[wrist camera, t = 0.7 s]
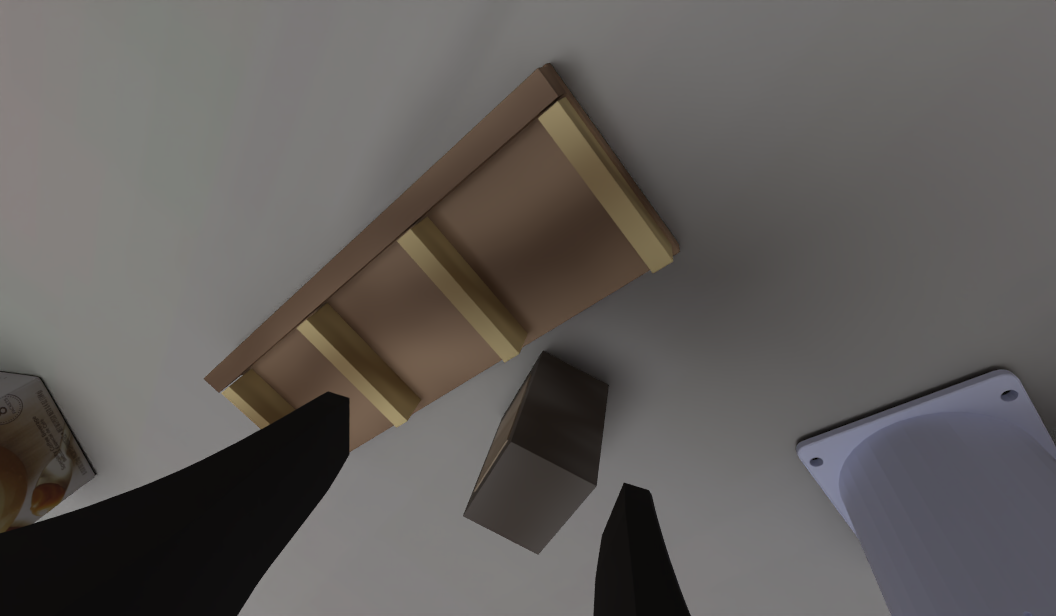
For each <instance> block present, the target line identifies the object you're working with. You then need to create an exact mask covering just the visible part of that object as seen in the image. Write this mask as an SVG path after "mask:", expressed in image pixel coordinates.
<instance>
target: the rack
mask: <svg viewBox="0 0 1056 616" xmlns="http://www.w3.org/2000/svg"><path fill="white" fill-rule="evenodd" d="M679 252H680V248H679V244H678V242H677V241H676V239H675V238H674V237H673V235H672V234H671V232H670V231H669V230H668V228H667V227H666V225H665V224H664V223H663V221H662V220H661V218H660V217H659V216H658V214H657V213H656V211H655V210H654V209H653V207H652V206H651V204H650V203H649V202H648V200H647V199H646V197H645V196H644V195H643V193H642V192H641V190H640V189H639V187H638V186H637V185H636V183H635V182H634V180H633V179H632V178H631V176H630V175H629V173H628V172H627V171H626V169H625V168H624V166H623V165H622V164H621V162H620V161H619V159H618V158H617V157H616V155H615V154H614V152H613V151H612V150H611V148H610V147H609V145H608V144H607V143H606V141H605V140H604V138H603V137H602V136H601V134H600V133H599V131H598V130H597V128H596V127H595V126H594V124H593V123H592V121H591V120H590V119H589V117H588V116H587V114H586V113H585V112H584V110H583V109H582V107H581V106H580V105H579V103H578V102H577V100H576V99H575V98H574V96H573V95H572V93H571V92H570V91H569V89H568V88H567V86H566V85H565V84H564V82H563V81H562V79H561V78H560V77H559V75H558V74H557V72H556V71H555V69H554V68H553V67H552V65H551V64H550V63H547V64H545V65H544V66H543V67H541V68H537V69H536V70H535V71H534V72H533V73H532V74H531V75H530V76H529V77H528V78H527V79H526V80H525V81H523V82H522V83H521V84H520V85H519V86H518V87H517V88H516V89H515V90H514V91H513V92H512V93H511V94H509V95H508V96H507V97H506V98H505V99H504V100H503V101H502V102H501V103H500V104H499V105H498V106H497V107H495V108H494V109H493V110H492V111H491V112H490V113H489V114H488V115H487V116H486V117H485V118H484V119H483V120H481V121H480V122H479V123H478V124H477V125H476V126H475V127H474V128H473V129H472V130H471V131H470V132H469V133H467V134H466V135H465V136H464V137H463V138H462V139H461V140H460V141H459V142H458V143H457V144H456V145H455V146H453V147H452V148H451V149H450V150H449V151H448V152H447V153H446V154H445V155H444V156H443V157H442V158H441V159H439V160H438V161H437V162H436V163H435V164H434V165H433V166H432V167H431V168H430V169H429V170H428V171H427V172H425V173H424V174H423V175H422V176H421V177H420V178H419V179H418V180H417V181H416V182H415V183H414V184H413V185H411V186H410V187H409V188H408V189H407V190H406V191H405V192H404V193H403V194H402V195H401V196H400V197H399V198H397V199H396V200H395V201H394V202H393V203H392V204H391V205H390V206H389V207H388V208H387V209H386V210H385V211H383V212H382V213H381V214H380V215H379V216H378V217H377V218H376V219H375V220H374V221H373V222H372V223H371V224H369V225H368V226H367V227H366V228H365V229H364V230H363V231H362V232H361V233H360V234H359V235H358V236H357V237H355V238H354V239H353V240H352V241H351V242H350V243H349V244H348V245H347V246H346V247H345V248H344V249H343V250H341V251H340V252H339V253H338V254H337V255H336V256H335V257H334V258H333V259H332V260H331V261H330V262H329V263H327V264H326V265H325V266H324V267H323V268H322V269H321V270H320V271H319V272H318V273H317V274H316V275H315V276H313V277H312V278H311V279H310V280H309V281H308V282H307V283H306V284H305V285H304V286H303V287H302V288H301V289H299V290H298V291H297V292H296V293H295V294H294V295H293V296H292V297H291V298H290V299H289V300H288V301H287V302H285V303H284V304H283V305H282V306H281V307H280V308H279V309H278V310H277V311H276V312H275V313H274V314H273V315H271V316H270V317H269V318H268V319H267V320H266V321H265V322H264V323H263V324H262V325H261V326H260V327H259V328H257V329H256V330H255V331H254V332H253V333H252V334H251V335H250V336H249V337H248V338H247V339H246V340H245V341H243V342H242V343H241V344H240V345H239V346H238V347H237V348H236V349H235V350H234V351H233V352H232V353H231V354H229V355H228V356H227V357H226V358H225V359H224V360H223V361H222V362H221V363H220V364H219V365H218V366H217V367H215V368H214V369H213V370H212V371H211V372H210V373H209V374H208V375H207V376H206V377H205V378H204V380H205V381H207V382H208V383H209V384H210V385H211V386H212V387H213V388H214V389H215V390H216V391H218V392H220V391H222V390H223V389H224V388H225V387H227V386H228V385H229V384H230V383H232V382H233V381H234V380H235V379H237V378H238V377H239V376H240V375H243V376H242V377H240V378H239V379H238V380H237V381H235V382H234V383H233V384H232V385H231V386H229V387H228V388H227V389H226V390H225V391H224V392H222V394H223V395H224V396H225V397H226V398H227V399H228V400H229V401H230V402H232V403H233V404H234V405H235V406H236V407H237V408H238V409H239V410H240V411H241V412H243V413H244V414H245V415H246V416H247V417H248V418H249V419H250V420H251V421H253V422H254V423H255V424H256V425H257V426H258V427H259V428H260V429H262V428H264V427H266V426H268V425H270V424H272V423H273V422H275V421H277V420H279V419H280V418H282V417H284V416H285V415H287V414H289V413H291V412H292V411H294V410H296V409H298V408H299V407H301V406H303V405H304V404H306V403H308V402H310V401H311V400H313V399H315V398H317V397H318V396H320V395H322V394H324V393H326V392H328V391H329V392H332V393H335V394H339V395H342V396H345V397H348V398H350V445H349V452H351V451H352V450H354V449H356V448H357V447H359V446H361V445H362V444H364V443H366V442H367V441H369V440H370V439H372V438H374V437H375V436H377V435H379V434H380V433H382V432H384V431H385V430H387V429H389V428H390V427H392V426H395V427H396V428H397V427H398V426H400V425H402V424H403V423H405V422H407V421H408V419H409V418H410V416H411V415H412V414H413V413H415V412H417V411H418V410H420V409H422V408H423V407H425V406H427V405H428V404H430V403H432V402H433V401H435V400H436V399H438V398H440V397H441V396H443V395H445V394H446V393H448V392H450V391H451V390H453V389H455V388H456V387H458V386H460V385H461V384H463V383H464V382H466V381H468V380H469V379H471V378H473V377H474V376H476V375H478V374H479V373H481V372H483V371H484V370H486V369H488V368H489V367H491V366H493V365H494V364H496V363H497V362H499V361H501V360H503V361H504V362H507V361H508V360H510V359H512V358H513V357H515V356H517V355H518V354H519V353H520V351H521V349H522V347H524V346H526V345H527V344H529V343H530V342H532V341H534V340H535V339H537V338H539V337H540V336H542V335H544V334H545V333H547V332H549V331H550V330H552V329H554V328H555V327H557V326H559V325H560V324H562V323H563V322H565V321H567V320H568V319H570V318H572V317H573V316H575V315H577V314H578V313H580V312H582V311H583V310H585V309H587V308H588V307H590V306H592V305H593V304H595V303H596V302H598V301H600V300H601V299H603V298H605V297H606V296H608V295H610V294H611V293H613V292H615V291H616V290H618V289H620V288H621V287H623V286H625V285H626V284H628V283H629V282H631V281H633V280H634V279H636V278H638V277H639V276H641V275H643V274H644V273H646V272H648V271H649V270H651V272H652V273H655V272H656V271H658V270H660V269H661V268H663V267H665V266H666V265H668V264H670V263H671V262H673V256H674V255H676V254H677V253H679Z"/></svg>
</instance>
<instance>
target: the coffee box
mask: <svg viewBox="0 0 1056 616" xmlns="http://www.w3.org/2000/svg"><path fill="white" fill-rule="evenodd" d="M94 476H95V474H94V472H93V471H92V469H91V467H90V465H89V464H88V462H87V460H86V458H85V456H84V455H83V453H82V451H81V449H80V447H79V446H78V444H77V442H76V440H75V439H74V437H73V435H72V433H71V431H70V430H69V428H68V426H67V424H66V422H65V421H64V419H63V417H62V415H61V414H60V412H59V410H58V408H57V407H56V405H55V403H54V401H53V399H52V398H51V396H50V394H49V393H48V391H47V389H46V387H45V385H44V384H43V382H42V381H41V379H40V378H39V377H35V376H28V375H21V374H13V373H6V372H0V533H3V532H6V531H10V530H13V529H17V528H20V527H24V526H27V525H31V524H33V523H34V522H36V521H37V520H38V519H39V518H41V517H42V516H43V515H45V514H46V513H48V512H49V511H50V510H51V509H53V508H54V507H55V506H57V505H58V504H59V503H61V502H62V501H63V500H64V499H66V498H67V497H68V496H70V495H71V494H72V493H74V492H75V491H76V490H78V489H79V488H80V487H82V486H83V485H84V484H86V483H87V482H88V481H90V480H91V479H93V478H94Z"/></svg>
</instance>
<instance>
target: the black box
mask: <svg viewBox="0 0 1056 616" xmlns="http://www.w3.org/2000/svg"><path fill="white" fill-rule="evenodd" d="M608 387H609V385H608V384H606V383H604V382H602V381H600V380H598V379H596V378H594V377H592V376H590V375H589V374H587V373H585V372H583V371H581V370H579V369H577V368H575V367H573V366H571V365H570V364H568V363H566V362H564V361H562V360H560V359H558V358H556V357H554V356H553V355H551V354H549V353H547V352H545V351H542V353H541V355H540V356H539V358H538V360H537V361H536V363H535V365H534V366H533V368H532V370H531V371H530V373H529V375H528V376H527V378H526V379H525V381H524V383H523V384H522V386H521V388H520V389H519V391H518V393H517V394H516V396H515V398H514V399H513V401H512V403H511V404H510V406H509V408H508V409H507V411H506V412H505V414H504V416H503V417H502V419H501V422H500V424H499V427H498V429H497V432H496V434H495V437H494V440H493V442H492V445H491V447H490V450H489V452H488V455H487V457H486V460H485V462H484V465H483V467H482V470H481V472H480V475H479V477H478V480H477V482H476V485H475V487H474V490H473V492H472V495H471V497H470V500H469V502H468V505H467V507H466V510H465V512H464V515H463V516H464V517H466V518H468V519H470V520H472V521H474V522H475V523H477V524H479V525H481V526H483V527H485V528H487V529H489V530H491V531H493V532H495V533H497V534H499V535H501V536H503V537H505V538H507V539H509V540H511V541H513V542H514V543H516V544H518V545H520V546H522V547H524V548H526V549H528V550H530V551H532V552H534V553H536V554H539V553H540V552H541V551H542V550H543V548H544V547H545V546H546V545H547V544H548V543H549V541H550V540H551V539H552V538H553V537H554V536H555V534H556V533H557V532H558V531H559V530H560V528H561V527H562V526H563V525H564V524H565V523H566V521H567V520H568V519H569V518H570V517H571V516H572V514H573V513H574V512H575V511H576V510H577V508H578V507H579V506H580V505H581V504H582V503H583V501H584V500H585V499H586V498H587V497H588V496H589V494H590V493H591V492H592V491H593V490H594V488H595V487H596V486H597V478H598V470H599V462H600V453H601V445H602V437H603V429H604V420H605V412H606V404H607V396H608Z"/></svg>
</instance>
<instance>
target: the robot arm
mask: <svg viewBox="0 0 1056 616" xmlns="http://www.w3.org/2000/svg"><path fill="white" fill-rule="evenodd" d="M1008 390H1011V391H1010V392H1009V393H1007V394H1005V395H1001V394H1002V393H1003V392H1005V391H1008ZM349 445H350V398H348V397H345V396H342V395H339V394H335V393H332V392H329V391H328V392H326V393H324V394H322V395H320V396H318V397H317V398H315V399H313V400H311V401H310V402H308V403H306V404H304V405H303V406H301V407H299V408H298V409H296V410H294V411H292V412H291V413H289V414H287V415H285V416H284V417H282V418H280V419H279V420H277V421H275V422H273V423H272V424H270V425H268V426H266V427H264V428H262V429H261V430H259V431H257V432H255V433H253V434H252V435H250V436H248V437H246V438H244V439H243V440H241V441H239V442H237V443H235V444H233V445H231V446H229V447H227V448H225V449H223V450H221V451H219V452H217V453H215V454H213V455H211V456H209V457H207V458H205V459H203V460H201V461H199V462H197V463H195V464H193V465H191V466H188V467H186V468H184V469H182V470H180V471H177V472H175V473H173V474H170V475H168V476H166V477H163V478H161V479H159V480H156V481H154V482H152V483H149V484H147V485H144V486H142V487H139V488H136V489H134V490H131V491H128V492H126V493H123V494H120V495H117V496H115V497H112V498H109V499H107V500H104V501H101V502H98V503H96V504H93V505H90V506H87V507H84V508H81V509H78V510H75V511H72V512H69V513H66V514H63V515H60V516H57V517H54V518H50V519H47V520H44V521H40V522H37V523H34V524H31V525H27V526H24V527H20V528H17V529H13V530H10V531H6V532H3V533H0V616H237V615H238V614H239V612H240V610H241V609H242V607H243V606H244V604H245V603H246V601H247V599H248V598H249V596H250V595H251V593H252V592H253V590H254V588H255V587H256V585H257V584H258V582H259V581H260V580H261V578H262V577H263V575H264V574H265V573H266V571H267V570H268V568H269V567H270V566H271V564H272V563H273V562H274V560H275V559H276V558H277V557H278V555H279V554H280V553H281V551H282V550H283V549H284V547H285V546H286V545H287V544H288V542H289V541H290V540H291V538H292V537H293V536H294V534H295V533H296V532H297V531H298V529H299V528H300V527H301V525H302V524H303V523H304V521H305V520H306V519H307V518H308V516H309V515H310V514H311V512H312V511H313V510H314V508H315V507H316V506H317V504H318V503H319V502H320V500H321V499H322V498H323V496H324V495H325V494H326V492H327V491H328V490H329V488H330V486H331V485H332V483H333V481H334V480H335V478H336V477H337V475H338V473H339V471H340V470H341V468H342V466H343V465H344V463H345V461H346V459H347V458H348V456H349ZM796 451H797V454H798V457H799V458H800V460H801V461H802V463H803V464H804V465H805V467H806V468H807V469H808V471H809V472H810V473H811V475H812V476H813V478H814V479H815V480H816V482H817V483H818V484H819V486H820V487H821V488H822V490H823V491H824V492H825V494H826V495H827V497H828V498H829V499H830V501H831V502H832V503H833V505H834V506H835V507H836V509H837V510H838V512H839V513H840V514H841V516H842V517H843V518H844V520H845V521H846V522H847V524H848V525H849V526H850V528H851V529H852V531H853V532H854V533H855V535H856V536H857V537H858V539H859V541H860V543H861V545H862V548H863V550H864V552H865V555H866V557H867V559H868V562H869V564H870V566H871V569H872V571H873V574H874V576H875V578H876V581H877V583H878V585H879V588H880V590H881V592H882V595H883V597H884V599H885V602H886V604H887V606H888V609H889V611H890V613H891V616H1056V446H1055V444H1054V442H1053V440H1052V438H1051V436H1050V435H1049V433H1048V431H1047V429H1046V427H1045V425H1044V424H1043V422H1042V420H1041V418H1040V416H1039V414H1038V413H1037V411H1036V409H1035V407H1034V405H1033V403H1032V401H1031V400H1030V398H1029V396H1028V394H1027V392H1026V390H1025V389H1024V387H1023V385H1022V383H1021V381H1020V380H1019V378H1018V377H1017V376H1015V375H1014V374H1013V373H1012V372H1011V371H1008V370H995V371H992V372H989V373H986V374H983V375H981V376H978V377H975V378H972V379H970V380H967V381H964V382H962V383H959V384H956V385H953V386H951V387H948V388H945V389H943V390H940V391H937V392H934V393H932V394H929V395H926V396H923V397H921V398H918V399H915V400H913V401H910V402H907V403H904V404H902V405H899V406H896V407H893V408H891V409H888V410H885V411H883V412H880V413H877V414H874V415H872V416H869V417H866V418H864V419H861V420H858V421H855V422H853V423H850V424H847V425H844V426H842V427H839V428H836V429H834V430H831V431H828V432H825V433H823V434H820V435H817V436H814V437H812V438H809V439H806V440H804V441H802V442H800V443H798V445H797V446H796ZM816 457H818V458H819V459H817V460H811V459H812V458H816ZM594 616H691V615H690V613H689V610H688V608H687V605H686V603H685V600H684V597H683V595H682V592H681V590H680V587H679V584H678V581H677V578H676V575H675V573H674V570H673V567H672V564H671V561H670V558H669V555H668V552H667V549H666V546H665V542H664V539H663V536H662V532H661V529H660V526H659V522H658V518H657V515H656V511H655V507H654V503H653V498H652V495H651V493H650V491H649V490H647V489H643V488H640V487H637V486H634V485H630V484H627V483H624V484H623V486H622V489H621V491H620V493H619V496H618V498H617V501H616V503H615V505H614V508H613V510H612V513H611V515H610V518H609V520H608V522H607V525H606V527H605V530H604V532H603V534H602V539H601V545H600V552H599V558H598V565H597V571H596V579H595V597H594Z"/></svg>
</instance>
